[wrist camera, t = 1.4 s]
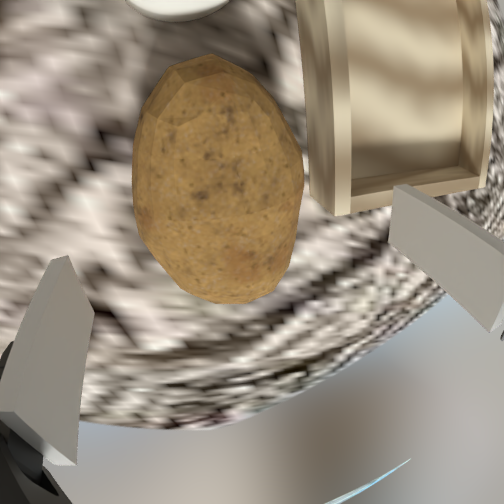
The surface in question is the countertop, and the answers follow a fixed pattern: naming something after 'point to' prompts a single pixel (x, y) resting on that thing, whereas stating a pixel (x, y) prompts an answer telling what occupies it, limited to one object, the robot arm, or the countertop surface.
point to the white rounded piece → (176, 9)
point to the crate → (395, 98)
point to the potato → (216, 181)
